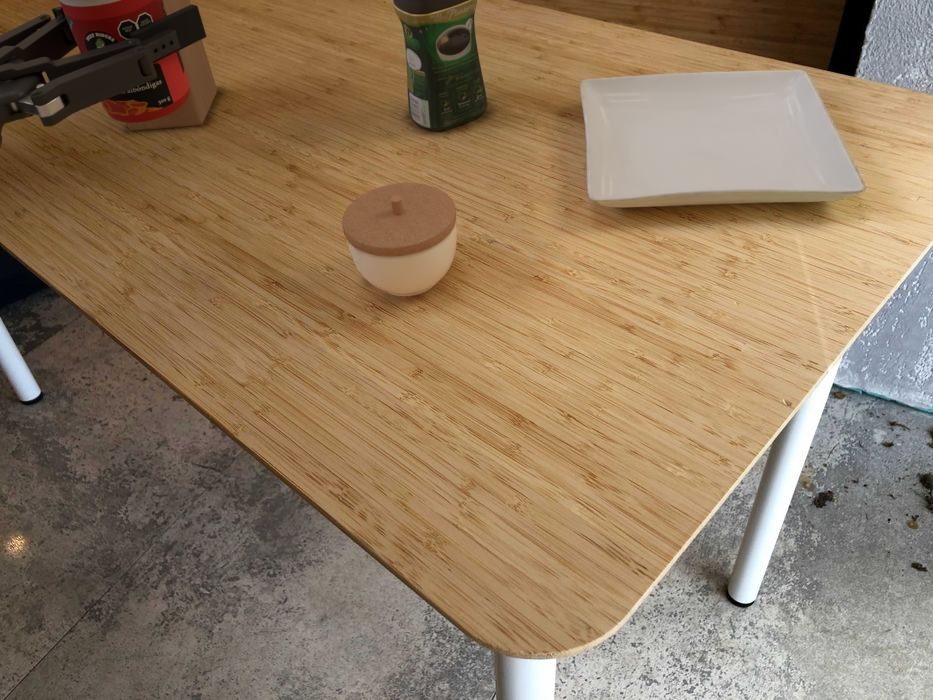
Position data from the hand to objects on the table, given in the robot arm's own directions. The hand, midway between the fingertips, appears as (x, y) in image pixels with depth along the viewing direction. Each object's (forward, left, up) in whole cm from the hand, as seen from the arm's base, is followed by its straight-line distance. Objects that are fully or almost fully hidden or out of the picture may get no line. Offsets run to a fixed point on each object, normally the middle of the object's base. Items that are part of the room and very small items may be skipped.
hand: (168, 12), depth 75 cm
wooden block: (-19, +29, -25) cm, 43 cm away
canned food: (-2, -4, -7) cm, 8 cm away
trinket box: (+20, -6, -25) cm, 32 cm away
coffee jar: (+19, +27, -25) cm, 41 cm away
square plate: (+50, +17, -25) cm, 58 cm away
